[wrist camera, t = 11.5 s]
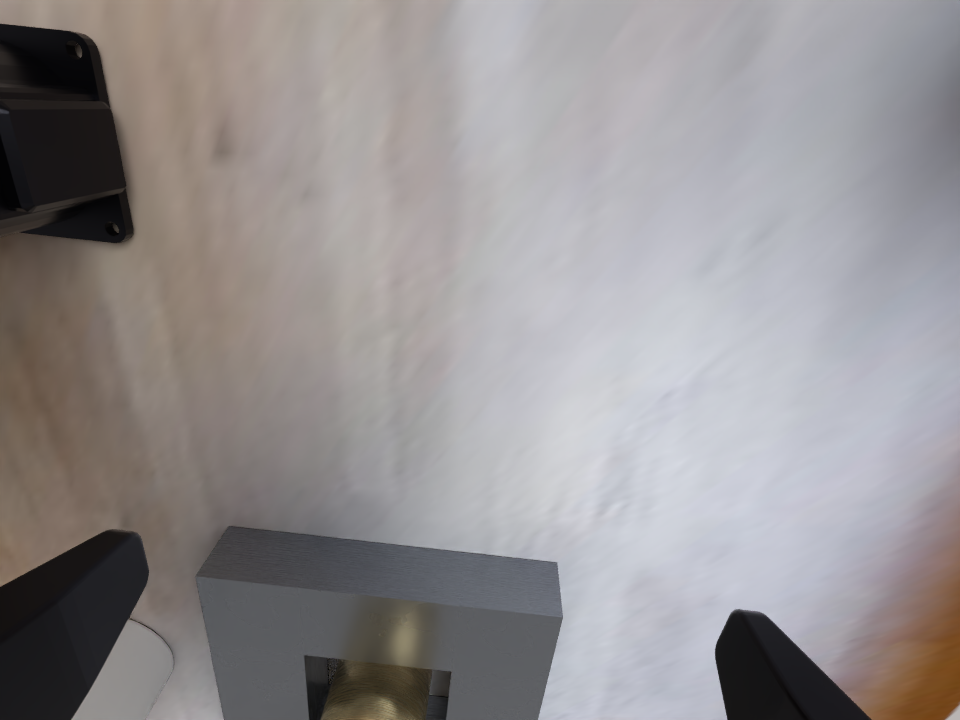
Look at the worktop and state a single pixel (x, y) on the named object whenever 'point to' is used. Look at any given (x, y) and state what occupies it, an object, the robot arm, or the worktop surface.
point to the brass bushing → (377, 692)
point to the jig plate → (375, 622)
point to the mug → (129, 677)
